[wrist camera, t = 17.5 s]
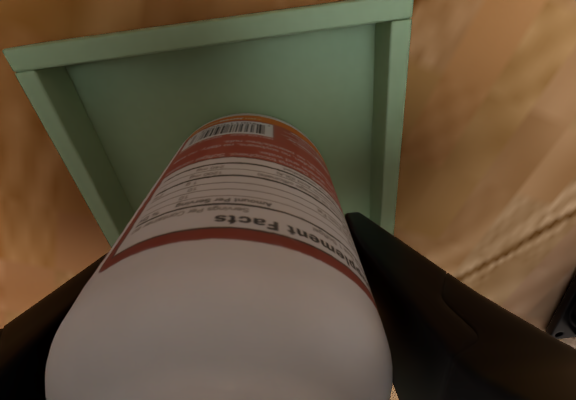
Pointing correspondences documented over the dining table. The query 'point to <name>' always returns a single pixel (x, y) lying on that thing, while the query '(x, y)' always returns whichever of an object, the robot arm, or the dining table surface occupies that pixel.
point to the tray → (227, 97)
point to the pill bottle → (228, 284)
